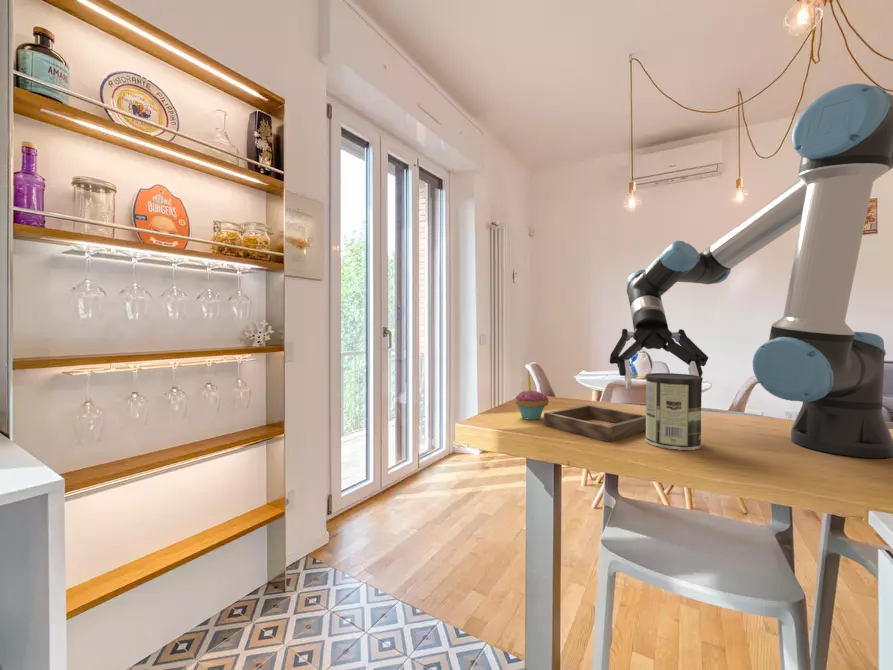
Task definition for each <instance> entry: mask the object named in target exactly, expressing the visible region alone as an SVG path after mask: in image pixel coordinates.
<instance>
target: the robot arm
mask: <svg viewBox="0 0 893 670" xmlns="http://www.w3.org/2000/svg"><path fill="white" fill-rule="evenodd" d="M791 143H792V146H793V149H794V150H795V152H796V153H797V154H798V155H799V156H800V157H801V158H800V162H799V168H798V170H799V171H798V175H797V178H798V180H797V181H795V182H794V183H793V184H791V185H790V186H789V187H788V188H786V189H785V190H783V191H782V192H781V193H780V194H778V195H777V196H776V197H774V198H772V199H771V201H769V202H767V203H766V204H765V205H764V206H762V207H761V208H760V209H758V210H757V211H756V212H754V213H753V214H752V215H750V216H749V217H748V218H747V219H745V220H743V221H742V222H741V223H739V224H738V225H737V226H735V227H734V228H733V229H731V230H730V231H728V232H727V233H726V234H725V235H724V236H722V237H721V238H719V239H718V240H717V241H716V242H714V243H712V244H711V245H710V246H709V247H707V248H705V250H703V251H702V252H698V250H697V249H696V248H695V247H694V246H693V245H691V244H690V243H689V242H688V243H687V242H685V241H683V240H675V241H672V243H671V244H669V245H668V246H667V247H666V248H665V249H663V250H662V252H661V253H660V254H659V255H658V256H657V257H656V258H655V259H654V260H653V261H652V263H650V264H649V266H648V267H647V268H646V269H639V270H636V271H635V272H632V273H631V274H630V275H629V276H628V277H627V279H626V294H627V297H628V303H629V308H630V313H631V321H632V327H633V331H628V329H627V328H623V329H622V331H621V336H620V338H619V340H618V341H617V343H616V345H615V346H614V348H613V349H612V352H611V353H610V354H609V355H610V357H609V363H610V364H611V365H614V364H615V365H617V366H616V367H617V368H618V374H619V376H621V377H624V381H625V382H624V383H625V389H626V390H627V391H630V390H631V386H632V376H631V375H632V374H631V369H630V368H631V367H630V359H632V357H633V356H635V355H636V354H637V353H638V352H640V351H641V350H643V348H644V349H647V350H651V349H654V350H655V349H656V350H662V349H663V350H664V351H665V352H669V353H671V354H672V355H674V356H675V357H676V358H678V359H679V360H680V361H682V362H684V363H685V364H687V365H688V369H687V370H688V373H689V374H688V375H696V376H700V377H702V375H703V374H704V373H703V370H702V369H703V368H702V367H705V366H706V365H707V362H708V359H709V356H708V355H707V354H705V352H703V350H702V349H700V348H699V346H698V345H697V344H695V342H693V341H692V340H691V339H690V337H688V336H687V334H686V332H685V330H684V329H683V328H682V329H678V331H675V332H673V331H671V330H669V324H668V320H667V317H666V313H665V309H664V305H663V300H662V296H663V295H664V294H665V293H666V292H668V291H669V290H670V289H671V288H672V287H673V286H674V285H675V284H676V283H691V284H701V285H712V284H713V285H715V284H719V283H722V282H724V281H725V280H727V278H729V277H728V276H729V275H730V273H731V271H732V269H733V268H734V267H736V266H737V265H739V264H741V262H743V261H745V260H746V259H748V258H749V257H751V256H752V255H754V254H756V253H757V252H759V251H760V250H762V249H763V248H765V247H766V246H768V245H770V243H772V242H774V241H775V240H777V239H778V238H779V237H781V236H783V235H784V234H786V233H787V232H789V231H790V230H792V229H793V228H795V227H796V226H798V225H799V228H798V233H797V240H796V245H795V250H794V256H793V262H792V267H791V273H790V278H789V282H788V283H789V284H788V287H787V289H788V290H787V294H786V300H785V304H784V305H785V306H784V311H783V316H782V317H781V318H779V319H778V320H777V321H774V322H773V323H772V324H771V328H770V331H769V332H770V334H769V338H768V340H767V341H766V342H764V343H763V344H762V345H760V346H759V347H758V348H757V349H756V350H755V353H754V355H753V359H752V370H753V374H754V377H755V379H756V380H757V381H758V383H759V384H760V385H761V386H762V387H763V389H764V390H765V391H766V392H768V393H769V394H771V395H773V396H774V397H776V398H779V399H781V400H785V401H791V402H800V403H801V402H802V404H801V407H800V409H799V412H798V414H797V416H796V418H795V419H794V422H793V425H792V427H791V429H790V440H791V442H792V443H794V444H797V445H799V446H801V447H804V448H807V449H808V448H809V449H811V450H815V451H820V452H824V453H829V454H834V455H840V456H841V455H843V456H849V457H855V458H869V459H885V458H884V457H888V458H892V457H893V436H892V434H891V431H890V428H889V427H888V425H887V421H886V420H885V416H884V412H883V397H884V374H885V372H884V371H885V356H886V354H887V353H886V349H885V341H884V339H883V337H881V335H878V334H876V333H872V332H865V331H854V330H853V329H852V328H851V327H850V326H849V325H848V324H847V323H846V317H847V314H848V308H849V303H850V298H851V293H852V289H853V282H854V278H855V274H856V270H857V269H856V268H857V264H858V259H859V255H860V249H861V244H862V239H863V234H864V230H865V229H864V228H865V225H866V219H867V215H868V210H869V206H870V200H871V194H872V190H873V185H874V182H875V181H876V180H877V179H879V178H881V177H882V176H883V175H885V174H886V173H887V172H889V171H891V170H892V169H893V94H890V93H889V92H887V91H886V90H885V89H883V88H882V87H881V86H876V85H870V84H866V83H848V84H845V85H840V86H839V87H836V88H835V87H834V88H833V89H830V90H829V91H827V92H825V93H823V94H822V95H820V96H819V97H817V98H816V99H815V100H814V101H813V102H811V104H810V105H809V106H808V107H806V108H805V109H804V110H803V111H802V112H801V113H800V115H799V117H798V118H797V120H796V122H795V123H794V126H793V128H792V132H791ZM632 338H633V340H634V341H635V342H633V343H632V344H631V345H630V346H629V347H628V348H627V349H626V350H624V347H625V346H626V343H627V342H629V341H630V340H631V339H632ZM623 350H624V351H623ZM622 351H623V353H622V354H621V352H622ZM891 456H892V457H891Z"/></svg>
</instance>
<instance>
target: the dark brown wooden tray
mask: <svg viewBox="0 0 893 670" xmlns="http://www.w3.org/2000/svg"><path fill="white" fill-rule="evenodd" d="M587 417H588V418H589V417H590V419H594V420H599V421H604V422H609V423H612V424H608V425H606V424H602V423H597V422H594V421H593V422H592V421H588V420H584V419H587ZM582 418H583V419H582ZM545 425H546V427H549V428H553V429H558V430H561V431H565V432H568V433H573V434H576V435H581V436H583V437H589V438H592V439H596V440H600V441H604V442H609V443H610V442H612V441H616V440H619V439H624V438H626V436H627V437H630V435H631V436H633V434H634V435H637V434H641V433H644V432H646V414H645V415H644V414H639V413H635V412H634V413H633V412H628V411H623V410H618V409H612V408H608V407H607V408H606V407H602V406H596V405H591V404H584V405H579V406H574V407H567V408H563V409H558V410H553V411H547V412H544V413H543V426H545ZM640 432H641V433H640ZM623 437H624V438H623Z"/></svg>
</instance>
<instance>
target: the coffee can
mask: <svg viewBox="0 0 893 670" xmlns="http://www.w3.org/2000/svg"><path fill="white" fill-rule="evenodd" d="M645 379H646V380H645V381H646V382H645V386H646V387H645V388H646V390H645V416H646V431H645V442H646V443H648V444H649V445H651V446H653V445H654V446H653V447H657V446H658V448H660V447H661V448H660V449H665V448H668V449H667V450H671V449H678V450H677V451H682V450H689V451H696V450H695V449H698V450H700V449H701V448H702V398H703V397H702V395H703V394H702V389H703V388H702V387H703V384H702V383H703V377H702V376H701V377H700V376H696V375H690V374H686V373H674V372H673V373H671V372H670V373H669V372H653V373H647V374H645ZM699 448H700V449H699Z"/></svg>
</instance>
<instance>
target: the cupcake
mask: <svg viewBox="0 0 893 670" xmlns="http://www.w3.org/2000/svg"><path fill="white" fill-rule="evenodd" d="M529 372H530V371H529V370H528V371H527V373H528V374H527V385H528V386H527V388H528V390H525V391H522V392H519V394H518V395H516V396H515V401H514V402H515V404H516V405H517V407H518V410H519V412H520V414H521V415H520V416H521V418H522V417H523V418H522V419H524V418H528V419H527V420H530V419H536V420H539V419H538V418H540V419H541V417H542V414H543V410H544V409H545V408H546V407H547V406H548V405H549V402H550V401H549V398H548V397H547V395H545V394H544V393H543V392H540V391H536V390H532V387H531V385H532V384H531V382H532V381H531V374H530V373H529Z"/></svg>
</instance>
